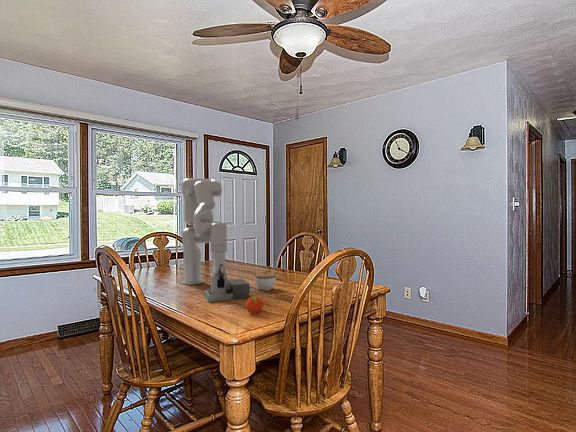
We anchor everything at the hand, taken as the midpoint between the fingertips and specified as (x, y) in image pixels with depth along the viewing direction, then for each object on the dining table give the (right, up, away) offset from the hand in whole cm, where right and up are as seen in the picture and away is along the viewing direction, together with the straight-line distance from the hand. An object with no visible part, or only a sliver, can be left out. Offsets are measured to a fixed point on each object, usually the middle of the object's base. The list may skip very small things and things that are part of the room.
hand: (219, 285), depth 170 cm
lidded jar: (+21, -6, +18) cm, 28 cm away
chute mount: (+3, -6, +1) cm, 7 cm away
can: (0, -5, 0) cm, 5 cm away
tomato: (+19, -7, -26) cm, 33 cm away
